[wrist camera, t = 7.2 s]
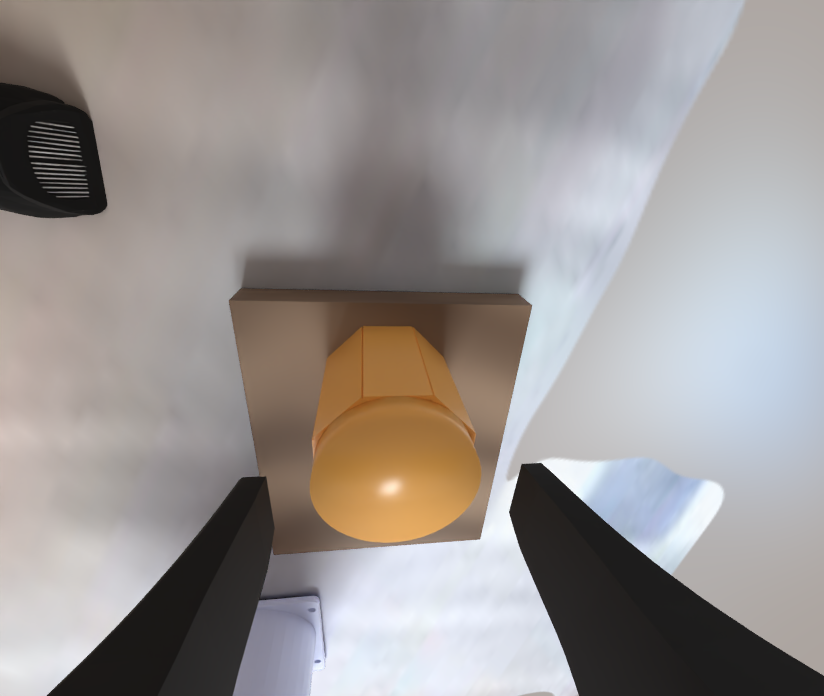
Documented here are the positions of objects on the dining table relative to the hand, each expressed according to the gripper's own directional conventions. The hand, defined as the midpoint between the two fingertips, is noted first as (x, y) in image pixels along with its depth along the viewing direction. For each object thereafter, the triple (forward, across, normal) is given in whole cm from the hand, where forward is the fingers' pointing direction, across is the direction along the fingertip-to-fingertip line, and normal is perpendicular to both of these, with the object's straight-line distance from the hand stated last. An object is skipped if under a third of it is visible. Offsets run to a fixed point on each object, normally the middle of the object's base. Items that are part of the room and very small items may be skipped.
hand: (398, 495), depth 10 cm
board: (+8, 0, +4) cm, 9 cm away
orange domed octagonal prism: (+6, 0, 0) cm, 6 cm away
